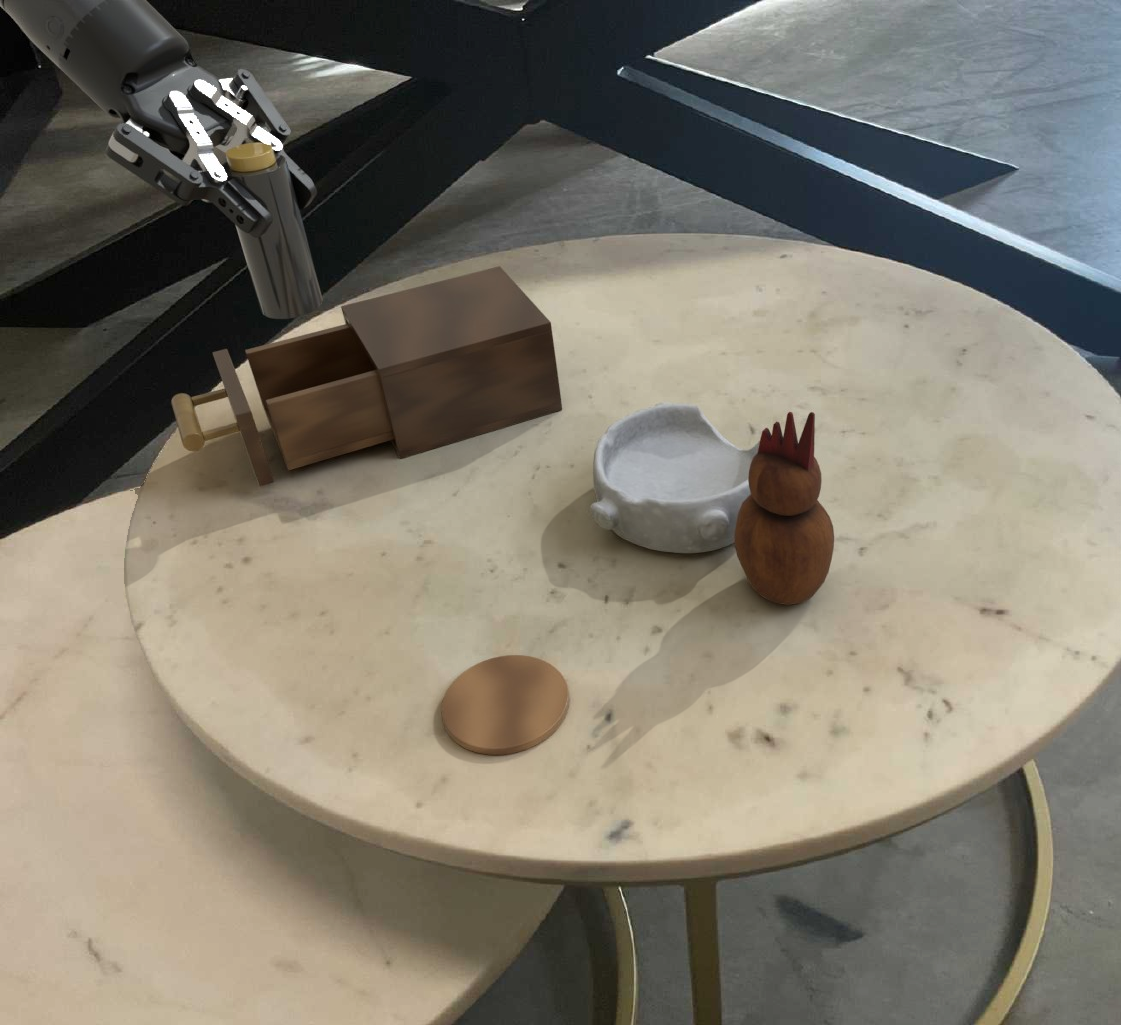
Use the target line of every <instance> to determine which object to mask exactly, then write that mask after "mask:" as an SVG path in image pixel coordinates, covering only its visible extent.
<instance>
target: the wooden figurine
mask: <svg viewBox="0 0 1121 1025" xmlns="http://www.w3.org/2000/svg"><path fill="white" fill-rule="evenodd" d="M815 421H816V414H815V413H814V411H810V412H809V413H808V415H807V418H806V421H805V424H804V426H803V429H802V432H801V435H800V438H799V440H798V434H797V429H796V422H795V418H794V413H793V412H792V411H789V412H787V414H786V419H785V425H784V431H782V427H781V423H780V422H779V421H775V422H774V423H773V424H772V429H771V430H772V431H770V429H769V428H768V427H765V428H764V429H763V430H762V431H761V435H760V438H759V441H760V443H759V448H758V453H757V454H756V455H755V456H754V457H753V459H752V462H751V464H750V469H749V477H748V482H749V489H750V492H751V494H750V495H749V496H748V497H747V498H746V499H745V500H744V502H743V503H742V505H741V507H740V510H739V512H738V517H737V522H736V528H735V534H734V538H735V542H734V550H735V552H736V555H737V556H736V557H737V559H738V562H739V563H740V565H741V568H742V570H743V572H744V574H745V576H746V578H747V580H748V582H749V585H750V587H751V588H753V590H754V591H755V592H756V593H757V594H758V595H759V596H761V597H763V598H764V599H765V600H768V601H771V602H773V603H775V604H778V605H787V606H788V605H789V606H790V605H796V604H800V603H803V602H805V601H808V600H810V599H811V598H813V596H814V595H815V594H816V593H817V591H818V590H820V588H821V587H822V586H823V584H824V583H825V582H826V579H827V577H828V574H829V572H830V567H831V564H832V559H833V555H834V554H833V553H834V546H835V530H834V525H833V522H832V519H831V516H830V515H829V513H828V511H827V510H826V509H825V506H823V505H822V503H821V502H820V501H819V500H818V499H819V497H820V494H821V489H822V472H821V468H820V464H819V462H818V459H817V458H816V457H815V436H816V434H815V433H816V432H815V430H816V429H815V428H816V426H815V425H816V424H815V423H816V422H815Z"/></svg>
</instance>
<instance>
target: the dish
mask: <svg viewBox="0 0 1121 1025" xmlns="http://www.w3.org/2000/svg"><path fill="white" fill-rule="evenodd" d="M759 443H760V440H759V441H758V442H756V444H755V445H754V446H752V447H751V448H749V449H748V448H747V449H742V448H739V447H738V446H736V445H734V444H733V443H731V441H728V439H727V438H725V437H724V436H723V435H722V434H721V433H720V431H718V429H717V428H716V427H715V426H714V425H713V424H712V423H711V421H709V420H708V418H707V417H706V416H705V414H704V412H702V410H701V408H700V407H699V406H697V405H695V404H691V403H674V402H668V401H663V402H659V403H657V404H654V406H649V407H645V408H642V409H639V410H637V411H634V412H632V413H629V414H628V415H626V416H624V417H622V418H620V419H618V420H616V421H615V422H613V423H612V424H611V425H609V427H608V428H607V429H606V431H605V432H604V434H603V435H602V436H601V437H600V438H599V439H598V441H597V444H596V446H595V449H594V453H593V461H592V478H593V480H592V481H593V487H594V494H595V499H596V501H595V502H593V503H592V504H591V505H590V507H589V509H590V513H591V516H592V519H593V520H594V521H595V522H596V524H597V525H598V526H599V527H600V528H602V529H604V530H607V531H609V530H610V531H613V532H614V533H615V534H616V535H618V537H620V538H621V539H623V540H625V541H627V542H629V543H631V544H634V545H637V546H639V547H642V548H647V549H649V550H654V551H658V552H659V551H660V552H666V553H674V554H675V553H676V554H677V553H678V554H697V553H706V552H711V551H716V550H719V549H722V548H725V547H728V546H730V545H732V544H735V538H734V534H735V528H736V522H737V517H738V512H739V510H740V507H741V505H742V503H743V502H744V500H745V499H746V498H747V497H748V496H749V495H750V494H751V492H750V489H749V482H748V477H749V469H750V464H751V462H752V459H753V457H754V456H755V455H756V454H757V453H758V448H759Z"/></svg>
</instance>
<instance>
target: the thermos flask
mask: <svg viewBox="0 0 1121 1025" xmlns="http://www.w3.org/2000/svg"><path fill="white" fill-rule="evenodd" d="M225 158H226V161H225V162H223V164H221V166H222V167H223V169H224V170H225V172H226V174H227V180H228V181H230V180H232V179H233V178H234V179H235V180H236V181H237V182H238V183H239V184H240V185H241V186H242V187H244V188H245V189H246V190H247V191H248V192H249V193H250V194H251V195H252V196H253V197H254V198H255V199H256V200H257V201H258V202H259V203H260V204H261V205H262V206H263V207H264V208H265V209H266V210H267V211H268V212H269V213H270V214H271V216H272V218H273V221H272V223H271V225H270V226H269V228H268V229H267V231H266V232H265V233H264V234H263V235H261V236H259V237H258V238H255V237H253V236H251V235H250V234H249V233H248V234H247V233H246V232H244V231H242V230H240V229H239V228H238V227H237V226H236V225H235V228H236V231H237V235H238V239H239V242H240V245H241V249H242V252H243V255H244V258H245V262H246V265H247V268H248V272H249V276H250V278H251V283H252V286H253V289H254V292H255V296H256V299H257V302H258V306H259V310H260V312H261V314H262V315H263V316H264V317H266V318H269V319H273V320H274V319H275V320H289V319H294V318H300V317H303V316H306V315H308V314H311V313H313V312H314V311H316V310H318V309H319V308H320V307H321V306H322V304H323V295H322V292H321V288H320V284H319V281H318V276H317V271H316V269H315V264H314V261H313V256H312V253H311V248H310V246H309V241H308V238H307V234H306V229H305V226H304V222H303V218H302V215H301V209H299V206H298V202H297V198H296V195H295V191H294V187H293V183H292V179H291V175H290V171H289V168H288V164H287V160H286V158H285V157H284V156H282V155H279V154H274V151H273V147H272V146H271V145H270V144H267V143H255V142H249V143H248V142H247V144H242V145H239V146H236V147H233V148H231V149H229V150H228V151H227V152H226V154H225Z"/></svg>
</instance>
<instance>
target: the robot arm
mask: <svg viewBox="0 0 1121 1025" xmlns="http://www.w3.org/2000/svg"><path fill="white" fill-rule="evenodd" d="M0 7H1V9H3V11H5V13H7V14H8V15H9V17H11V19H13V21H14V22H15V23H16V24H17V26H18V27H19V28H20V30H21V31H22V32H23V33H24V34H25V35H26V37H27V38H28V39H29V40H30V41H31V43H33V45H35V46H36V47H37V49H39V50H40V51H41V52H42V53H43V54H44V55H45V56H46V57H47V58H48V59H49V60H50V61H51V62H52V63H54V65H55V66H56V67H58V68H59V69H60V71H62V72H63V73H64V74H65V75H66V76H67V77H68V78H69V79H70V80H71V81H72V82H73V83H74V84H75V85H76V86H78V88H79V89H80V90H81V91H82V92H83V93H84V94H85V95H87V96H88V98H90V99H91V100H92V101H93V102H94V103H95V104H96V105H97V106H98V107H99V108H100V109H101V110H102V111H104V113H105V114H107V115H108V116H109V117H112V118H115V119H120V120H121V122H119V123H117V125H116V127H115V128H114V130H113V132H112V134H111V136H110V138H109V139H108V144H107V146H106V148H105V154H106V155H107V157H108V158H109V159H111V160H112V161H114V162H115V163H117V164H118V165H120V166H121V167H122V168H124V169H126V170H127V171H129V172H130V173H132V174H133V175H135V176H136V177H138V178H139V179H141V180H142V181H143V182H145V183H147V184H148V185H149V186H151V187H152V188H154V189H156V190H157V191H158V192H160V193H162V194H163V195H164V196H167V198H170V199H171V200H172V201H174V202H176V203H177V204H178V205H181V206H188V205H190V204H191V203H192V201H197V200H201V201H203V202H205V203H212V204H213V205H214V206H215V207H216V208H217V209H218V210H219V211H220V212H222V213H223V215H224V216H226V217H227V219H229V220H230V221H231V222H232V223H234V225H235V227H236V226H237V227H238V228H239V229H240V230H242V231H244V232H246V233H247V234H248V233H249V234H250V235H251V236H253V237H255V238H258V237H259V236H261V235H263V234H264V233H265V232H266V231H267V229H268V228H269V226H270V225H271V223H272V221H273V218H272V216H271V214H270V213H269V212H268V211H267V210H266V209H265V208H264V207H263V206H262V205H261V204H260V203H259V202H258V201H257V200H256V199H255V198H254V197H253V196H252V195H251V194H250V193H249V192H248V191H247V190H246V189H245V188H244V187H242V186H241V185H240V184H239V183H238V182H237V181H236V180H235V179H234V178H233V179H232V180H230V181H228V180H227V174H226V172H225V170H224V169H223V167H222V166H221V165H222V164H221V162H220V161H219V159H218V158H217V156H216V155H215V152H214V150H215V149H214V148H216V149H218V150H219V151H221V152H223V153H224V154H225V155H226V152H227V151H228V150H229V149H231V148H233V147H236V146H239V145H242V144H247V143H248V142H247V140H248V139H249V140H250V141H252V143H267V144H270V145H271V146H272V147H273V151H274V154H279V155H282V156H284V157H285V158H286V160H287V164H288V168H289V171H290V175H291V179H292V183H293V187H294V191H295V195H296V198H297V202H298V206H299V210H304V209H306V208H307V207H308V206H310V205H311V203H312V202H313V200H314V198H316V196H317V195H318V189H317V188H316V185H315V183H314V182H313V179H312V178H311V177H310V176H309V175H308V174H307V173H305V171H304V170H303V169H301V167H300V166H299V165H298V164H297V163H296V162H295V161H294V160H293V159H291V157H290V156H289V155H288V154H287V153H286V151H285V150H284V145H285V144H286V142H287V140H288V138H289V136H290V135H291V133H292V130H291V128H290V127H289V125H288V124H287V122H286V121H285V119H284V118H283V117H282V115H281V114H280V112H279V110H278V109H277V108H276V106H275V105H274V104H273V102H272V100H271V99H270V98H269V96H268V95H267V94H266V92H265V91H264V89H263V88H262V86H261V85H260V84H259V82H258V81H257V80H256V78H255V76H254V75H253V73H252V72H250V71H249V70H247V69H245V68H239V69H237V71H236V73H235V74H234V76H233V77H227V78H226V77H225V78H218V77H217V76H216V75H215V74H213V73H211V72H210V71H208V70H206V69H204V68H202V67H201V66H200V65H198V63H197V62H195V60H194V58H193V55H192V53H191V49H190V45H189V43H188V41H187V39H186V38H185V37H184V36H183V35H181V33H179V31H177V29H176V28H175V27H173V25H171V23H170V22H169V21H168V20H167V19H166V18H165V17H164V16H163V15H162V14H161V13H160V12H158V10H157V9H156V8H155V7H154V6H153V5H152V4H150V2H149V1H147V0H0ZM233 124H234V125H235V128H236V131H235V132H234V134H233V135H228V134H229V132H230V130H231V128H232V127H233ZM266 125H267V126H266ZM268 127H269V128H268ZM269 129H270V130H269ZM246 139H247V140H246ZM164 171H166V172H167V173H169V175H172V176H173V177H175V178H176V179H177V180H179V181H177V180H175V179H174V178H172V177H170V176H169V175H167V174H166V173H165V172H164Z"/></svg>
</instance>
